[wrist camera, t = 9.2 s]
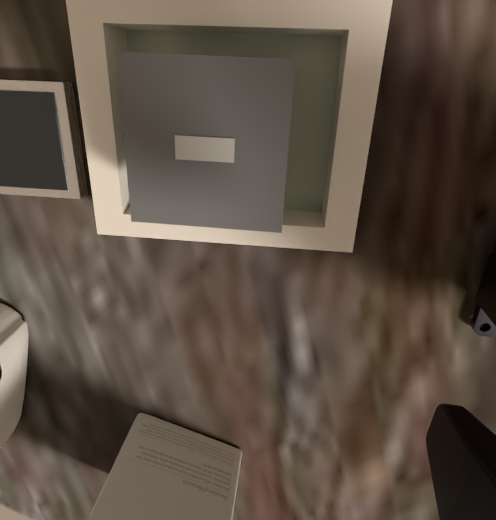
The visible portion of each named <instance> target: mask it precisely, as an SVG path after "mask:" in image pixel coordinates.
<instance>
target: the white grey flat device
mask: <svg viewBox="0 0 496 520" xmlns="http://www.w3.org/2000/svg"><path fill="white" fill-rule="evenodd" d="M392 1H393V0H66V6H67V14H68V21H69V28H70V36H71V43H72V50H73V58H74V65H75V72H76V80H77V87H78V94H79V102H80V109H81V117H82V124H83V131H84V139H85V146H86V153H87V161H88V168H89V175H90V183H91V190H92V197H93V205H94V212H95V219H96V227H97V234H104V235H118V236H131V237H145V238H159V239H173V240H186V241H200V242H214V243H227V244H241V245H255V246H269V247H282V248H296V249H310V250H323V251H337V252H351V253H352V252H353V246H354V240H355V233H356V227H357V221H358V214H359V208H360V202H361V196H362V189H363V183H364V177H365V171H366V164H367V158H368V152H369V145H370V139H371V133H372V127H373V120H374V114H375V108H376V101H377V95H378V89H379V83H380V76H381V70H382V64H383V58H384V51H385V45H386V39H387V32H388V26H389V20H390V14H391V7H392ZM116 52H133V53H158V54H183V55H207V56H232V57H257V58H281V59H296V64H295V76H294V89H293V101H292V113H291V125H290V138H289V150H288V162H287V174H286V186H285V198H284V210H283V222H282V233H276V232H263V231H250V230H237V229H224V228H210V227H197V226H184V225H171V224H158V223H145V222H131V213H130V202H129V190H128V179H127V168H126V157H125V146H124V134H123V123H122V112H121V101H120V90H119V78H118V67H117V56H116Z"/></svg>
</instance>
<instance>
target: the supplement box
mask: <svg viewBox="0 0 496 520" xmlns="http://www.w3.org/2000/svg"><path fill="white" fill-rule="evenodd" d="M241 456H242V451H241V450H240V449H237V448H235V447H233V446H230V445H227V444H225V443H222V442H220V441H217V440H214V439H212V438H209V437H207V436H204V435H202V434H199V433H196V432H193V431H191V430H188V429H186V428H183V427H180V426H178V425H175V424H172V423H170V422H167V421H164V420H161V419H159V418H157V417H153V416H151V415H147V414H145V413H139V414H137V416H136V418H135V420H134V422H133V424H132V426H131V429H130V431H129V433H128V435H127V437H126V439H125V441H124V443H123V445H122V447H121V450H120V452H119V454H118V456H117V458H116V460H115V462H114V465H113V467H112V469H111V471H110V473H109V475H108V477H107V479H106V482H105V484H104V486H103V488H102V490H101V492H100V494H99V496H98V499H97V501H96V503H95V505H94V507H93V509H92V511H91V514H90V516H89V518H88V520H232V517H233V510H234V504H235V497H236V490H237V484H238V477H239V470H240V463H241Z"/></svg>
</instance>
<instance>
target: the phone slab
mask: <svg viewBox="0 0 496 520" xmlns="http://www.w3.org/2000/svg"><path fill="white" fill-rule="evenodd" d="M0 194H11V195H27V196H42V197H57V198H72V199H81V198H83V197H85V196H87V195H88V187H87V180H86V173H85V166H84V159H83V152H82V145H81V137H80V130H79V123H78V116H77V109H76V102H75V95H74V87H73V82H56V81H31V80H6V79H0Z"/></svg>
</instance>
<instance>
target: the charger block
mask: <svg viewBox="0 0 496 520" xmlns="http://www.w3.org/2000/svg"><path fill="white" fill-rule="evenodd" d="M116 56H117V67H118V78H119V90H120V101H121V112H122V123H123V134H124V146H125V157H126V168H127V179H128V190H129V202H130V213H131V222H145V223H158V224H171V225H184V226H197V227H210V228H224V229H237V230H250V231H263V232H276V233H282V222H283V210H284V198H285V186H286V174H287V162H288V150H289V138H290V125H291V113H292V101H293V89H294V76H295V64H296V59H281V58H257V57H232V56H207V55H183V54H158V53H133V52H116Z"/></svg>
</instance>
